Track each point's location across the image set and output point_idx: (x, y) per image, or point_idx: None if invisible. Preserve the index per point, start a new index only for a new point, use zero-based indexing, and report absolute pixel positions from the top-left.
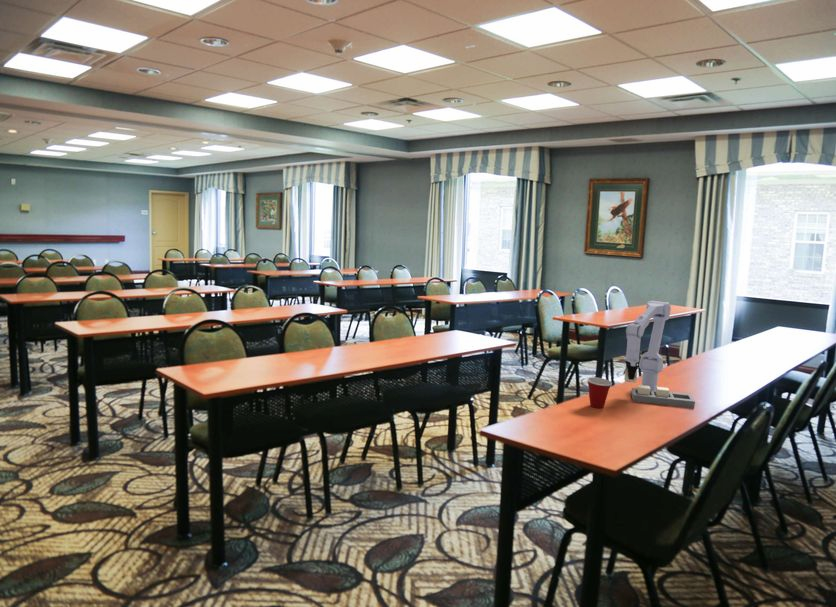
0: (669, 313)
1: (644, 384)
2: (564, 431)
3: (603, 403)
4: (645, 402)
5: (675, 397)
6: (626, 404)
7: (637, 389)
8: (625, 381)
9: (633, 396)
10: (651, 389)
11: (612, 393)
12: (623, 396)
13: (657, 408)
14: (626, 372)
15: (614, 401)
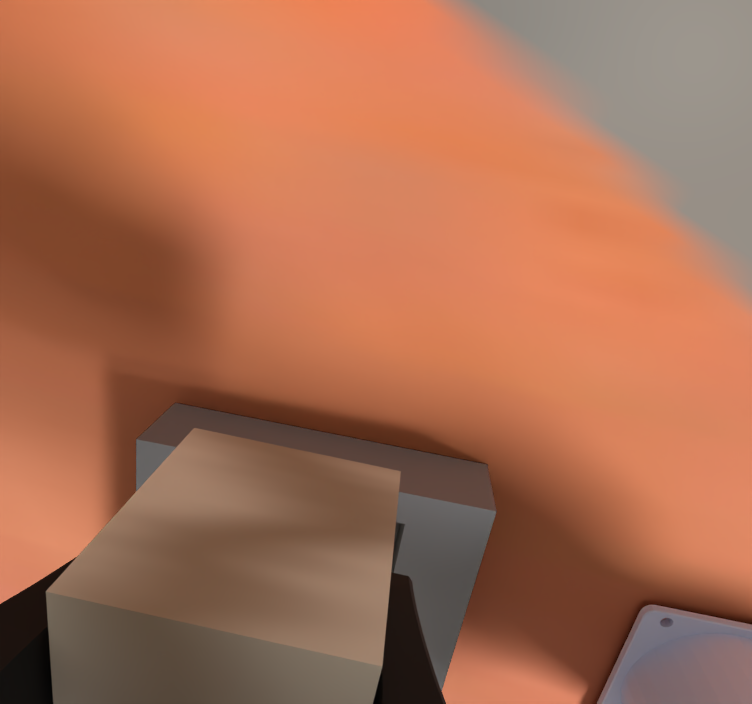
0: None
1: (693, 696)
2: None
3: None
4: None
5: None
6: (19, 296)
7: (428, 554)
8: (191, 439)
9: (168, 430)
10: (625, 701)
11: (469, 235)
12: (353, 346)
13: (23, 551)
14: (73, 580)
15: (83, 174)
